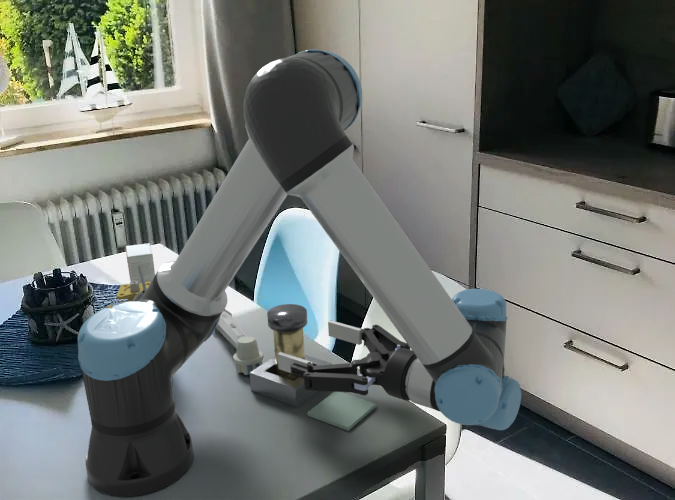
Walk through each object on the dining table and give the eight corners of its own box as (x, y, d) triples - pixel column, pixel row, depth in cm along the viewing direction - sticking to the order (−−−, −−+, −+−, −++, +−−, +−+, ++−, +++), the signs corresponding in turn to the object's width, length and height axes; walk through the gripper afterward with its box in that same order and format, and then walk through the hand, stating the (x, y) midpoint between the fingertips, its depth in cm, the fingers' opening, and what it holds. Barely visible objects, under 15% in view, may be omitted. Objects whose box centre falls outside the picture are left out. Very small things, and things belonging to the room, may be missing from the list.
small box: (131, 287, 170) (125, 245, 167) (155, 284, 172) (150, 242, 168) (132, 300, 163) (126, 256, 159) (158, 296, 164) (152, 253, 161)
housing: (296, 407, 118) (295, 388, 117) (251, 390, 124) (249, 372, 123) (332, 380, 126) (331, 363, 125) (287, 366, 131) (286, 349, 130)
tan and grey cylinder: (295, 399, 120) (289, 324, 116) (265, 388, 124) (259, 315, 119) (318, 382, 125) (314, 309, 121) (289, 372, 129) (284, 301, 124)
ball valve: (108, 336, 146) (101, 291, 143) (116, 315, 156) (109, 272, 152) (172, 330, 148) (166, 285, 144) (175, 309, 157) (169, 267, 154)
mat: (348, 430, 111) (348, 427, 111) (307, 415, 116) (307, 412, 116) (376, 406, 117) (376, 403, 117) (336, 393, 122) (336, 390, 122)
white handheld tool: (228, 303, 150) (264, 336, 127) (232, 333, 152) (268, 371, 129) (203, 308, 148) (235, 342, 126) (208, 338, 150) (240, 378, 127)
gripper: (372, 439, 100) (257, 396, 112) (454, 365, 119) (348, 334, 131) (370, 392, 98) (253, 353, 110) (455, 324, 117) (347, 297, 128)
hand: (305, 343), depth 120 cm, fingers open, 13 cm apart
